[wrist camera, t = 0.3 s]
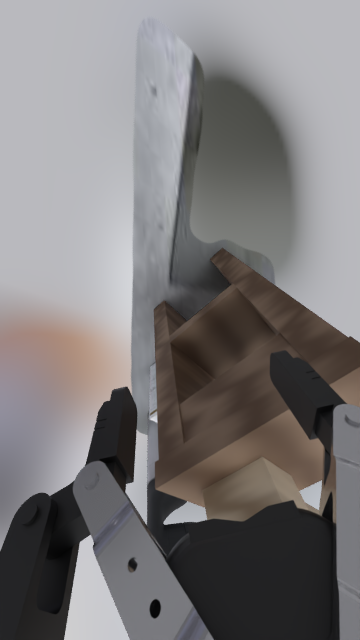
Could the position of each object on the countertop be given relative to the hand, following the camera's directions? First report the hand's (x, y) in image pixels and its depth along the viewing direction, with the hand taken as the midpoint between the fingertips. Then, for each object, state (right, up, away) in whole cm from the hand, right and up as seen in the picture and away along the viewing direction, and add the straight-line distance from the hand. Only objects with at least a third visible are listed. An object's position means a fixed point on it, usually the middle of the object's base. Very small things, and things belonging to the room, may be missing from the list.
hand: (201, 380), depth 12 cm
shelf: (+4, +8, +33) cm, 34 cm away
